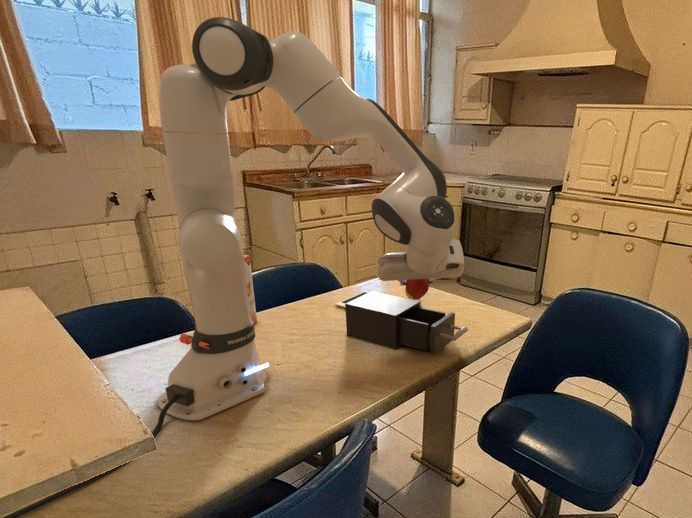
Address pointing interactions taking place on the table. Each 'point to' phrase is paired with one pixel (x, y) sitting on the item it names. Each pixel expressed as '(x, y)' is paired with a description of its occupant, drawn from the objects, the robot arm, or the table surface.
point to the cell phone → (350, 299)
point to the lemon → (409, 295)
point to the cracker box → (250, 288)
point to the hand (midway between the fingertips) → (416, 282)
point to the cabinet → (377, 317)
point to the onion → (417, 287)
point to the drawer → (427, 329)
